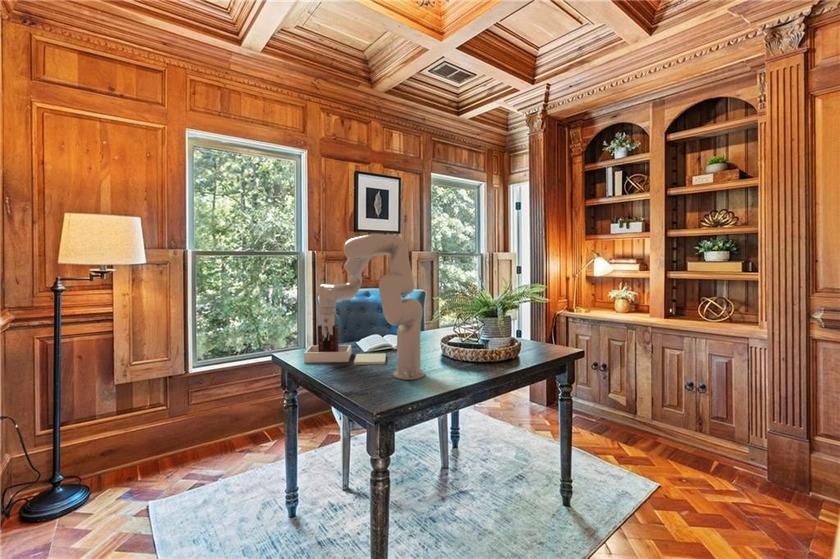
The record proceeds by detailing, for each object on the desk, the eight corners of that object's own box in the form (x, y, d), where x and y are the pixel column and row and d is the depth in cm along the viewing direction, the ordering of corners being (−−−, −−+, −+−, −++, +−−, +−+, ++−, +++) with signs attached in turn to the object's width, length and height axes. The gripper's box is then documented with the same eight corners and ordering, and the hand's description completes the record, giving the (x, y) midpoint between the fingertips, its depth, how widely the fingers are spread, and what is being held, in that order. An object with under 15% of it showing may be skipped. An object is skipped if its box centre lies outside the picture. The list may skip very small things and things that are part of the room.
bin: (348, 361, 187) (348, 352, 187) (304, 362, 186) (303, 352, 186) (351, 353, 201) (351, 344, 201) (310, 354, 200) (310, 345, 200)
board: (385, 364, 183) (385, 361, 183) (353, 364, 183) (353, 362, 182) (385, 355, 197) (385, 353, 197) (356, 356, 196) (356, 353, 196)
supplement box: (339, 357, 196) (338, 324, 194) (336, 359, 191) (335, 326, 190) (321, 356, 196) (320, 324, 195) (318, 359, 192) (317, 325, 190)
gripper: (333, 313, 183) (333, 350, 185) (338, 307, 201) (338, 341, 202) (316, 313, 183) (316, 351, 184) (322, 307, 200) (323, 342, 202)
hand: (328, 346), depth 193 cm, fingers open, 9 cm apart
